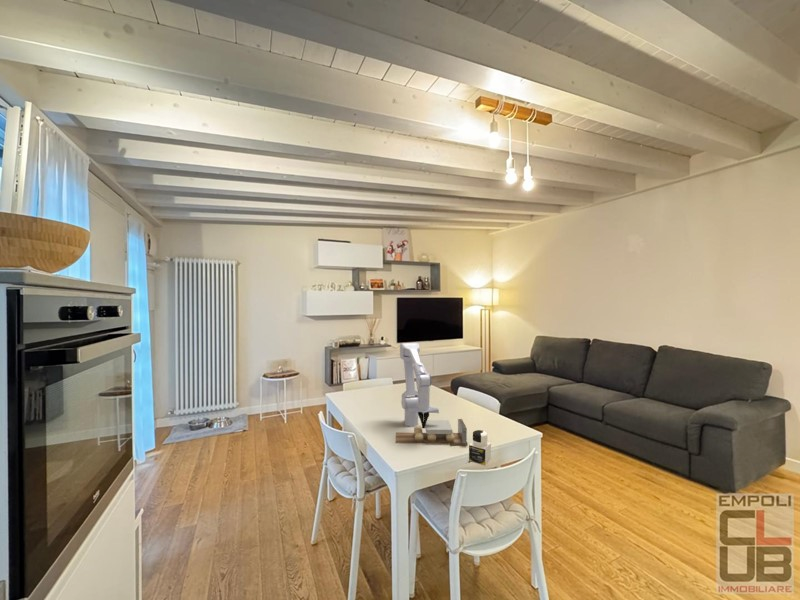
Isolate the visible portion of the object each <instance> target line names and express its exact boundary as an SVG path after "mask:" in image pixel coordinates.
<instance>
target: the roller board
mask: <svg viewBox="0 0 800 600" xmlns="http://www.w3.org/2000/svg"><path fill="white" fill-rule="evenodd" d="M467 431H468V430H467V426H466V424H465V422H464V420H463V419H462V418H458V419H457V432H453V434H454V437H455V440H454V441H453V442H451V443H450V442H448V441H447V440H446V437H445V434H426V432H423V428H422V425H421V426H420V425H417V426H414V428H413V432H395V444H449V446H457V447H458V446H459V447H461V446H462V447H463V446H466V447H467V446H468V447H469V444H468V441H467V440H468V439H467V438H468V437H467Z"/></svg>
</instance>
